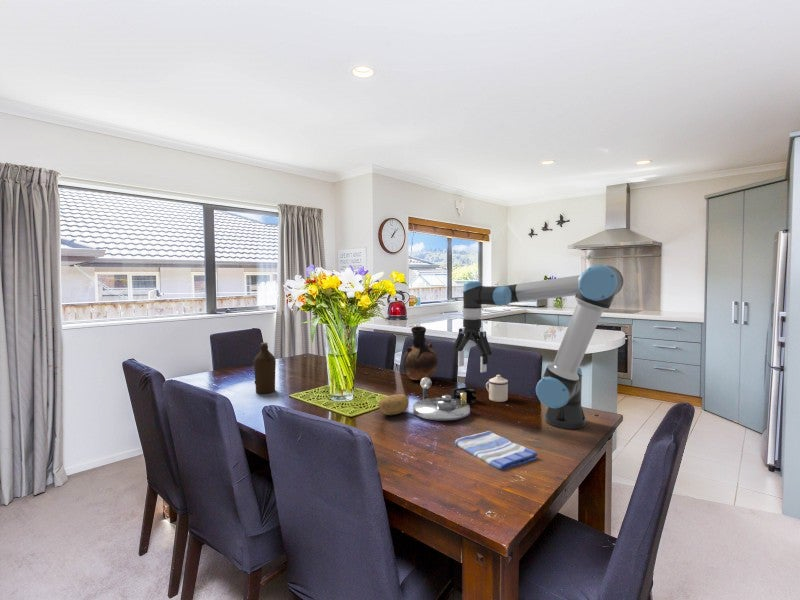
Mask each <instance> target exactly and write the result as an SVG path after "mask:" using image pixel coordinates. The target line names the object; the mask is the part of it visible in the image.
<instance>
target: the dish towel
mask: <svg viewBox="0 0 800 600" xmlns="http://www.w3.org/2000/svg"><path fill="white" fill-rule="evenodd" d="M454 445H455V446H456V447H458V448H460V449H461V450H463V451H465V452H466V453H468V454H469V455H471V456H473V457H475V458H477V459H479V460H480V461H482V462H484V463H486V464H488V465H489V466H492V467H493V468H495V469H497V470H500V471H503V470H506V469H510V468H512V467H516V466H520V465H523V464H525V463H528V462H532V461H536V460H538V458H537V456H538V453H537V452H536V451H535V450H533V449H530V448H528V447H525V446H523V445H521V444H518V443H514V442H512V441H510V440H509V439H508V438H506V437H503V436H500V435H498V434H496V433H494V432H493V431H492V430H487V431H484V432H480V433H474V434H472V435H468V436H467V435H466V436H463V437H460V438H456V439H455V441H454Z"/></svg>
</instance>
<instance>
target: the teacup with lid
mask: <svg viewBox="0 0 800 600" xmlns="http://www.w3.org/2000/svg"><path fill="white" fill-rule="evenodd" d="M485 388H486V390H487V392H488V399H489V400H490V401H492V402H498V403H502V402H503V403H504V402H506V401H508V398H509V397H508V396H509V395H508V393H509V392H508V391H509V380H508V379H506V378H504V377H502V375H501V374H496V375H495V376H494V377H492V378H489V379H488V381H487V382H486V383H485Z"/></svg>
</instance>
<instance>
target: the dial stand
mask: <svg viewBox="0 0 800 600" xmlns="http://www.w3.org/2000/svg"><path fill="white" fill-rule="evenodd" d="M419 381H420V383H419V384H420V386H421V388H422V400H423V399H428V389H429V388H431V386H432V380H431V378H427V377H424V378H422V379H421V380H419Z"/></svg>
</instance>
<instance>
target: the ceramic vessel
mask: <svg viewBox="0 0 800 600" xmlns="http://www.w3.org/2000/svg"><path fill="white" fill-rule="evenodd" d="M410 330H411V333H412V337H413V340H412V344H413V345H412V346H408V347H407V348H406V352H405V353H404V355H403V357H402V361H401V364H402V365H401V366H402V369H403V371H404V373H405V375H406V376H407V377H408V378H409V379H411V380H413V381H421V379H422V378H424V377H427V378H429V379H431V377H432V376H433V374H435V372H436V370H437V368H438V365H439V360H438V355H437V354H436V351H435V350H434V348H433V344H432V343H428V344H426V341H427V339H426V337H425V336H426V331H427V328H426V327H425V326H421V325H419V326H417V325H416V326H413V327H412V328H411V329H410Z"/></svg>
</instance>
